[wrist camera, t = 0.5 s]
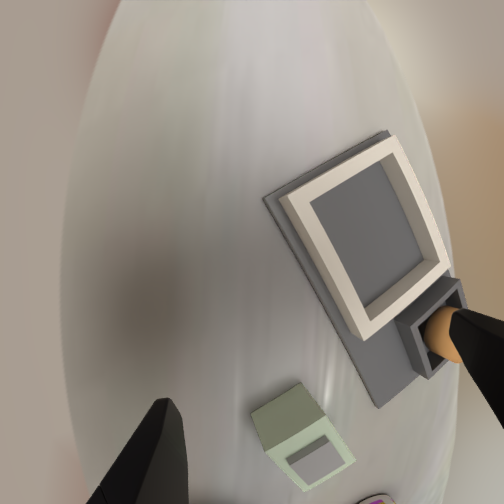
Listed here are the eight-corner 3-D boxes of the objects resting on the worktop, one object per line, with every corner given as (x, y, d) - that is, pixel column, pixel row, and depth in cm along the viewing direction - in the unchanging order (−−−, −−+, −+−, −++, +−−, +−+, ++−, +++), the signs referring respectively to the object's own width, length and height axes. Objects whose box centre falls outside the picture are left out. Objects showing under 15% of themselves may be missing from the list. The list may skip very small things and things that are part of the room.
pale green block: (330, 427, 23) (361, 466, 17) (286, 455, 23) (307, 499, 17) (300, 381, 22) (330, 421, 16) (250, 412, 22) (267, 459, 16)
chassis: (461, 328, 25) (480, 335, 22) (375, 406, 24) (391, 420, 21) (383, 131, 22) (403, 122, 19) (262, 198, 21) (273, 194, 18)
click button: (460, 331, 22) (483, 340, 19) (430, 361, 22) (453, 373, 19) (450, 295, 22) (475, 302, 19) (418, 325, 21) (444, 336, 18)
